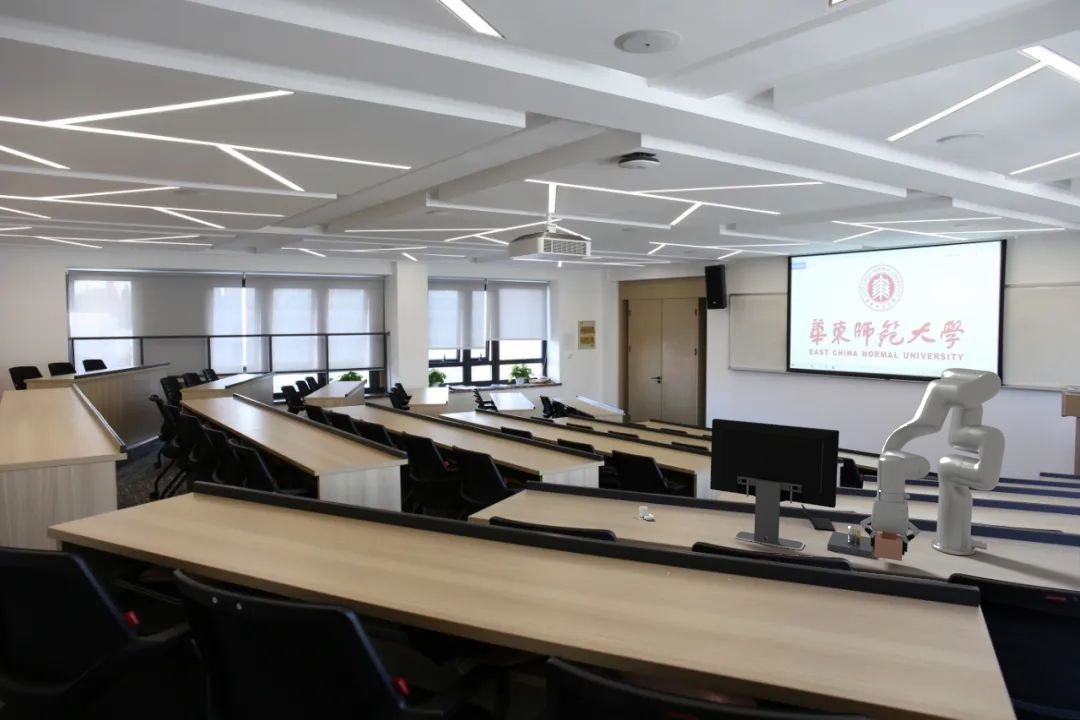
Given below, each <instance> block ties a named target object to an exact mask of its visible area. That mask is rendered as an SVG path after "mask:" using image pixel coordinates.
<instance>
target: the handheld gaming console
mask: <svg viewBox="0 0 1080 720" xmlns="http://www.w3.org/2000/svg"><path fill="white" fill-rule="evenodd" d="M800 504H801V507H802V510H803V512H804V515H805V516H806V518H807V519H808V520H809V521H810V523H811V524H812V526H813V528H814V530H815V531H825V532H833V531H834V532H836V530H835V527H834V525H833V524H832V522H831V519H830V518H825V517H824V518H823V517H813V515H811V513H809V511H808V510H807V509H806V507H805V506H804V503H800Z"/></svg>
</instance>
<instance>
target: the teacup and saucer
mask: <svg viewBox="0 0 1080 720" xmlns="http://www.w3.org/2000/svg"><path fill="white" fill-rule="evenodd" d="M648 510H649V508H648V506H645V505H640V506H639V513H640V514H639V517H640V518H642V517H644V518H643V519H646V520H645V521H651V520H654V519H655V515H653V514H650V513H648ZM647 514H649V515H647Z"/></svg>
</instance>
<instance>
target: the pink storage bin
mask: <svg viewBox="0 0 1080 720" xmlns="http://www.w3.org/2000/svg"><path fill="white" fill-rule="evenodd" d="M902 543H903V538H902V537H901V535H900V534H894V533H887V532H880V531H878V532H877V534H876V536H875V551H874V555H873V556H874V557H875V558H881V559H887V560H893V561H897V562H899V561H900V562H902V560H903V555H902Z"/></svg>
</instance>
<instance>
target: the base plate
mask: <svg viewBox="0 0 1080 720" xmlns="http://www.w3.org/2000/svg"><path fill="white" fill-rule="evenodd" d="M847 528H848V529H847V533H845V532H839V531H832V533H831V535H830V537H829V540H828V542H827V549H826V550H827V551H833V552H836V553H837V552H838V553H843V554H849V555H852V556H853V555H854V556H860V557H866V558H872V556H873V553H874V550H873V547H871V537H870V536H869V537H868V536H863V535H861V532H862V530H860V529H857V526H856V525H852V524H850V525H849V524H848V527H847Z"/></svg>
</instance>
